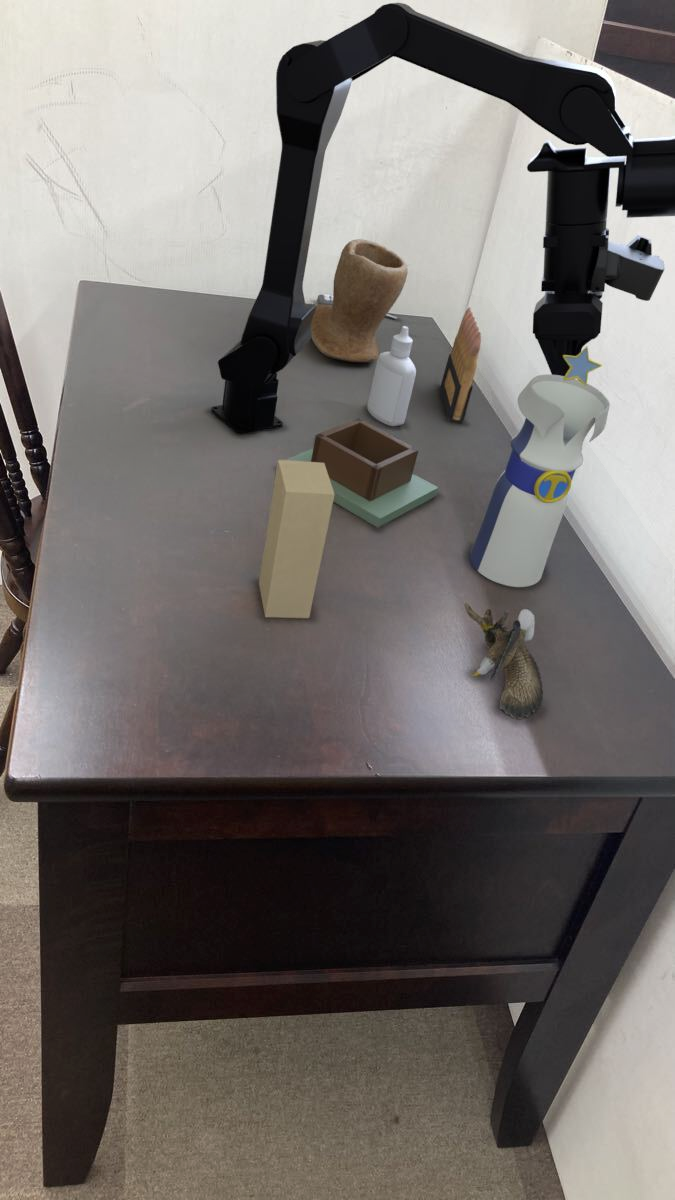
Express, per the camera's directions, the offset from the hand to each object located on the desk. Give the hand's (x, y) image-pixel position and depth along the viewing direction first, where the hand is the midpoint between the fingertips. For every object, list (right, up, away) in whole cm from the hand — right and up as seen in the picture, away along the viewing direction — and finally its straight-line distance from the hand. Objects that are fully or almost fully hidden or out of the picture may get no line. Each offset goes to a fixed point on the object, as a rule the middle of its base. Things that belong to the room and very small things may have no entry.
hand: (566, 376), depth 95 cm
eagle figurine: (-10, -31, -17) cm, 37 cm away
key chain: (-21, +23, +50) cm, 59 cm away
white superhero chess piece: (-7, -20, -2) cm, 21 cm away
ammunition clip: (-9, +3, +27) cm, 29 cm away
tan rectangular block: (-29, -24, -14) cm, 40 cm away
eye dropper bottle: (-18, 0, +20) cm, 27 cm away
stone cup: (-23, +13, +37) cm, 46 cm away
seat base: (-22, -11, +6) cm, 25 cm away
